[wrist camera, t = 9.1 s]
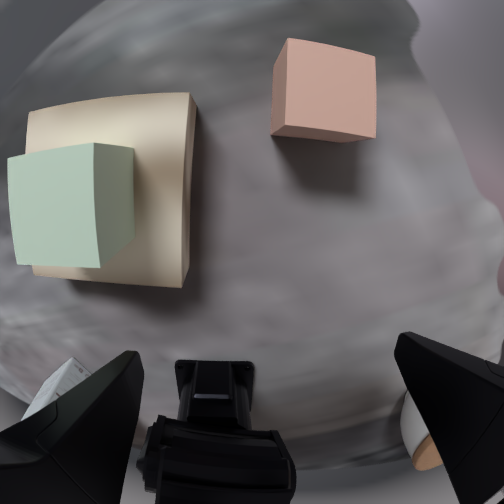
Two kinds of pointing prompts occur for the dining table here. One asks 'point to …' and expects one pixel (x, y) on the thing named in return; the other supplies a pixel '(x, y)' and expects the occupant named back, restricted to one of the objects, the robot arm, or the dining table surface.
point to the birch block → (134, 178)
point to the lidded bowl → (417, 437)
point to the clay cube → (323, 93)
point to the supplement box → (58, 385)
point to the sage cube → (71, 204)
